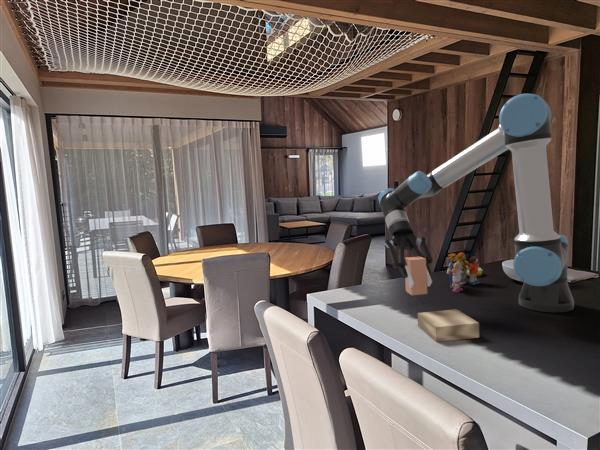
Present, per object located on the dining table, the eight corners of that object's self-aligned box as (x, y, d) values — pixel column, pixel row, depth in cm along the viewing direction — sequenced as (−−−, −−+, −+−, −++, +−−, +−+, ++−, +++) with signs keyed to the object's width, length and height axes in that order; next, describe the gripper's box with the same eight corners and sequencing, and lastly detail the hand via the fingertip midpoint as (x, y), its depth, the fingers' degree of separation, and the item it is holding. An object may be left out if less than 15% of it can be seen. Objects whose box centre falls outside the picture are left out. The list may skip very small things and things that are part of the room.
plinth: (456, 322, 119) (456, 309, 119) (479, 337, 107) (479, 322, 107) (417, 326, 118) (417, 312, 117) (436, 341, 106) (435, 327, 106)
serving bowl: (498, 284, 156) (498, 267, 156) (506, 273, 173) (506, 257, 173) (562, 290, 144) (562, 271, 144) (564, 277, 161) (564, 260, 161)
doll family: (456, 293, 148) (456, 258, 146) (433, 289, 155) (432, 256, 153) (482, 281, 162) (481, 249, 160) (459, 278, 169) (458, 247, 167)
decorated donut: (473, 279, 167) (472, 270, 167) (450, 275, 176) (450, 266, 176) (487, 274, 173) (487, 266, 173) (464, 271, 182) (464, 262, 182)
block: (420, 289, 129) (419, 256, 128) (427, 293, 124) (425, 258, 123) (405, 291, 129) (404, 257, 128) (411, 295, 124) (410, 260, 123)
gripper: (421, 231, 141) (445, 288, 126) (371, 235, 139) (389, 294, 124) (427, 217, 135) (452, 275, 121) (375, 221, 133) (394, 281, 119)
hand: (420, 284), depth 123 cm, fingers closed on block, 5 cm apart
